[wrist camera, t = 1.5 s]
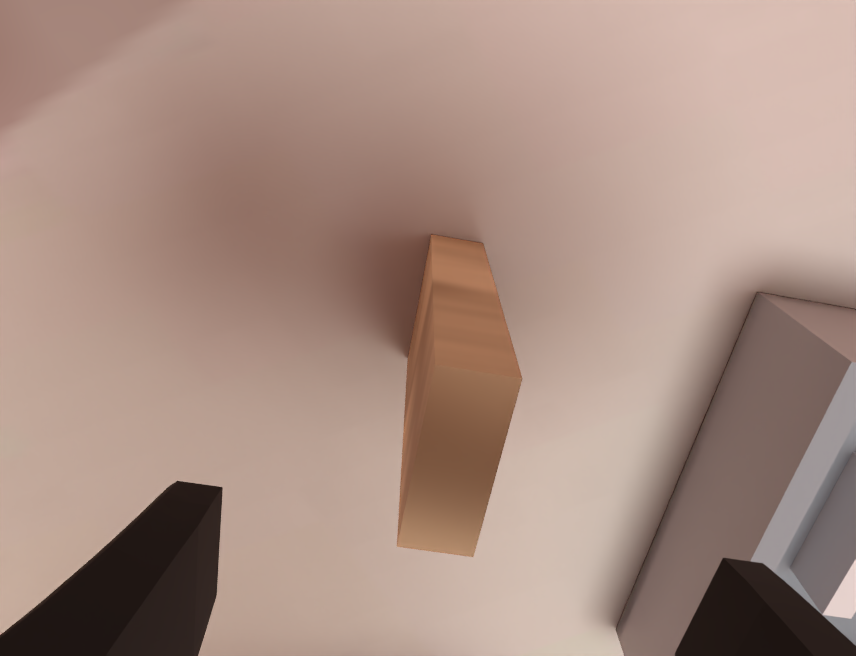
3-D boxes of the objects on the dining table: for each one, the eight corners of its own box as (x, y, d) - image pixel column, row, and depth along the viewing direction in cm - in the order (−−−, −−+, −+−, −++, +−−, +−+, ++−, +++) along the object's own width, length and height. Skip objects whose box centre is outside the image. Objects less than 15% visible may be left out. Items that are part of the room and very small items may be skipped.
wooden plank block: (455, 366, 20) (473, 556, 12) (407, 358, 20) (396, 546, 12) (482, 243, 18) (522, 378, 11) (431, 234, 18) (435, 364, 11)
